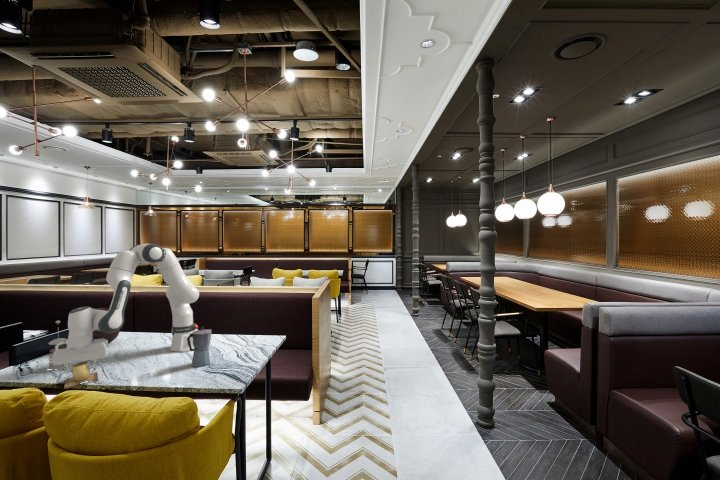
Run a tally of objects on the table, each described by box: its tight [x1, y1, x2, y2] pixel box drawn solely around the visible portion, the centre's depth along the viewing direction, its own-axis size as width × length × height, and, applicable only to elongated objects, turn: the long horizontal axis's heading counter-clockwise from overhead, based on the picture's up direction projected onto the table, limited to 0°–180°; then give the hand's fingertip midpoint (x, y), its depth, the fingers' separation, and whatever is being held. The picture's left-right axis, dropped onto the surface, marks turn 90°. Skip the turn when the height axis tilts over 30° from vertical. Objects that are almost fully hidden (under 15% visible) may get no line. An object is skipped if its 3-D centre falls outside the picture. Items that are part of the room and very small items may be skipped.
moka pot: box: [187, 326, 213, 367], centre depth 174 cm, size 10×15×20 cm, turn 161°
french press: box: [47, 320, 72, 370], centre depth 173 cm, size 10×12×25 cm
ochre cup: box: [71, 361, 90, 382], centre depth 156 cm, size 6×6×7 cm
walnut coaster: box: [63, 371, 99, 389], centre depth 157 cm, size 12×12×1 cm
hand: (81, 369), depth 156 cm, fingers open, 7 cm apart
